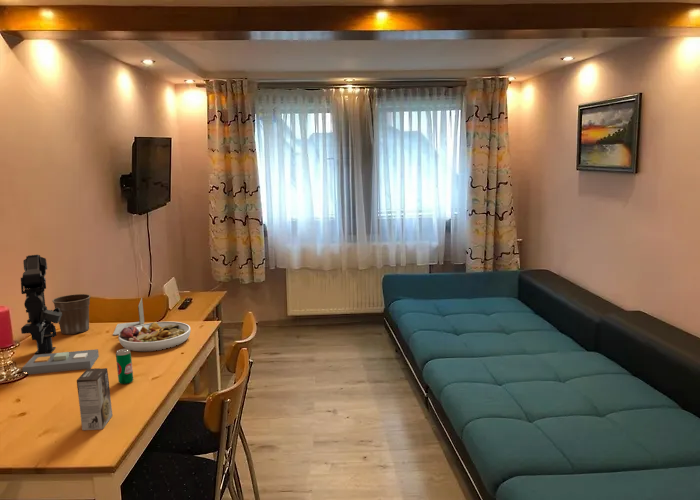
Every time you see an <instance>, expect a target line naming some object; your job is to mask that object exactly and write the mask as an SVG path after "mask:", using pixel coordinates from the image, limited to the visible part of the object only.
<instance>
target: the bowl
mask: <svg viewBox="0 0 700 500" xmlns="http://www.w3.org/2000/svg"><path fill="white" fill-rule="evenodd" d="M190 335H191V326H190V325H189V324H187V323H184V322H181V321H158V322H157V321H154V322H149V323H144V324H142V325H138V326H135V327H134V326H130V327H128V328H124V329H123V330H122V331H121V332H120V334H119V335H118V341H119V343H120V345H121V346H122V347H123V348H124V349H129V351H134V352H154V351H156V350H157V351H161V350H162V349H163V350H167V349H166V348H168V349H171V348H174V347H177V346H179V345H181V344H182V343H184V342H185V341H187V340H188V338H189V337H190ZM176 345H177V346H176ZM170 347H171V348H170ZM157 351H156V352H157Z"/></svg>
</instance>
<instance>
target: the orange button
mask: <svg viewBox="0 0 700 500" xmlns="http://www.w3.org/2000/svg"><path fill="white" fill-rule="evenodd" d="M49 359H50V356H47V357H38V358H37V359H36V360H35V361H34V362H46V361H48V360H49Z"/></svg>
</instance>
